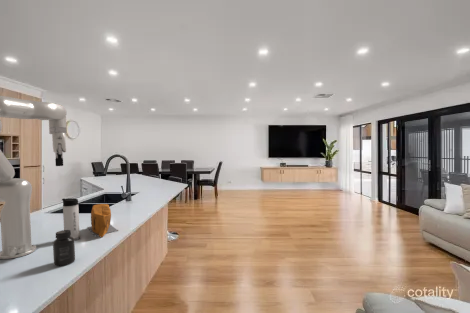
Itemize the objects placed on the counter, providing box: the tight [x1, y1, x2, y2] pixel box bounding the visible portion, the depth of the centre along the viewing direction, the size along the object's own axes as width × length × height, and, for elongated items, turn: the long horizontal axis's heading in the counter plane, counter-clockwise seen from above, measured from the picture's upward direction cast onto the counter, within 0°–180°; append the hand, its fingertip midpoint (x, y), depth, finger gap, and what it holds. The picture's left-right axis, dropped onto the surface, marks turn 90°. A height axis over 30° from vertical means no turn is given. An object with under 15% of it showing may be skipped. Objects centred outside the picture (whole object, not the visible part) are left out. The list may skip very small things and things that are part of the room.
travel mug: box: [61, 197, 81, 241], centre depth 124 cm, size 6×7×20 cm
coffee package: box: [90, 203, 112, 238], centre depth 135 cm, size 10×12×22 cm
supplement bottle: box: [52, 229, 76, 267], centre depth 98 cm, size 7×7×12 cm
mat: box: [87, 224, 119, 237], centre depth 139 cm, size 19×11×1 cm, turn 40°
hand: (59, 165), depth 135 cm, fingers closed
